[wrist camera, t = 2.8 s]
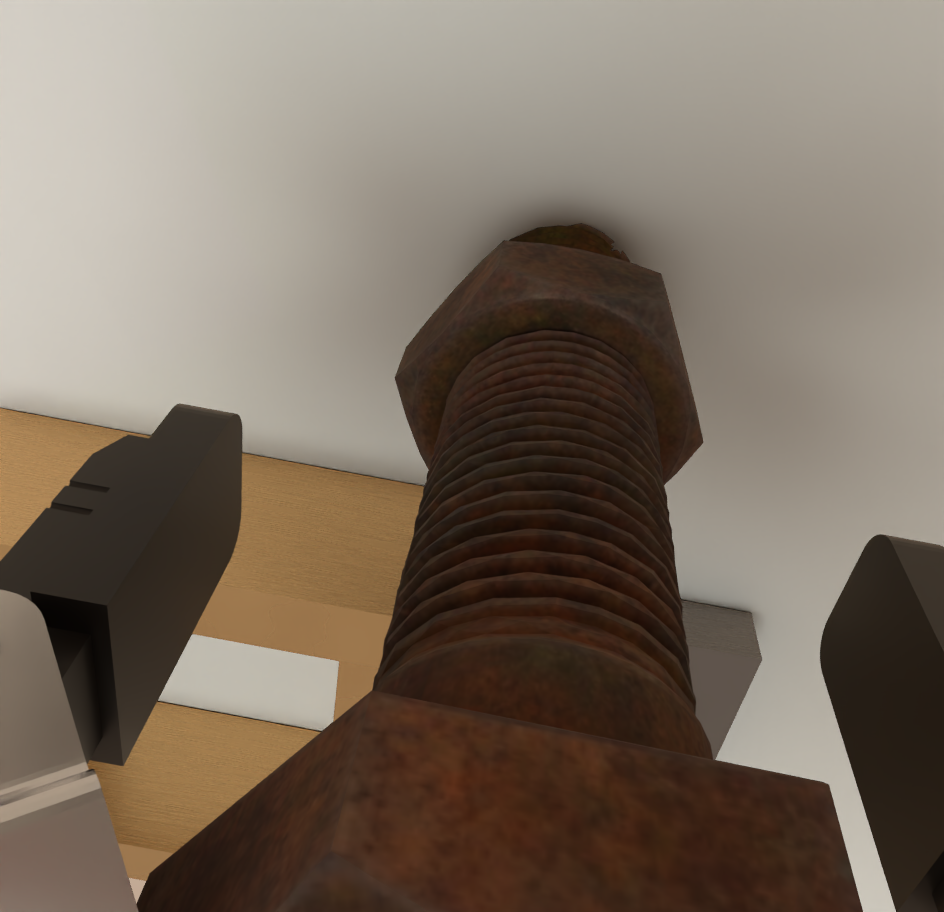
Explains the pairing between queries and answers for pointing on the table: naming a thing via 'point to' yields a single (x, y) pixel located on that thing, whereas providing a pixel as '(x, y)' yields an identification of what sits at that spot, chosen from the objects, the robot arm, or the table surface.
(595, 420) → the bolt
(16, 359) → the table surface
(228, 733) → the square wooden frame
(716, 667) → the gray knob plate
